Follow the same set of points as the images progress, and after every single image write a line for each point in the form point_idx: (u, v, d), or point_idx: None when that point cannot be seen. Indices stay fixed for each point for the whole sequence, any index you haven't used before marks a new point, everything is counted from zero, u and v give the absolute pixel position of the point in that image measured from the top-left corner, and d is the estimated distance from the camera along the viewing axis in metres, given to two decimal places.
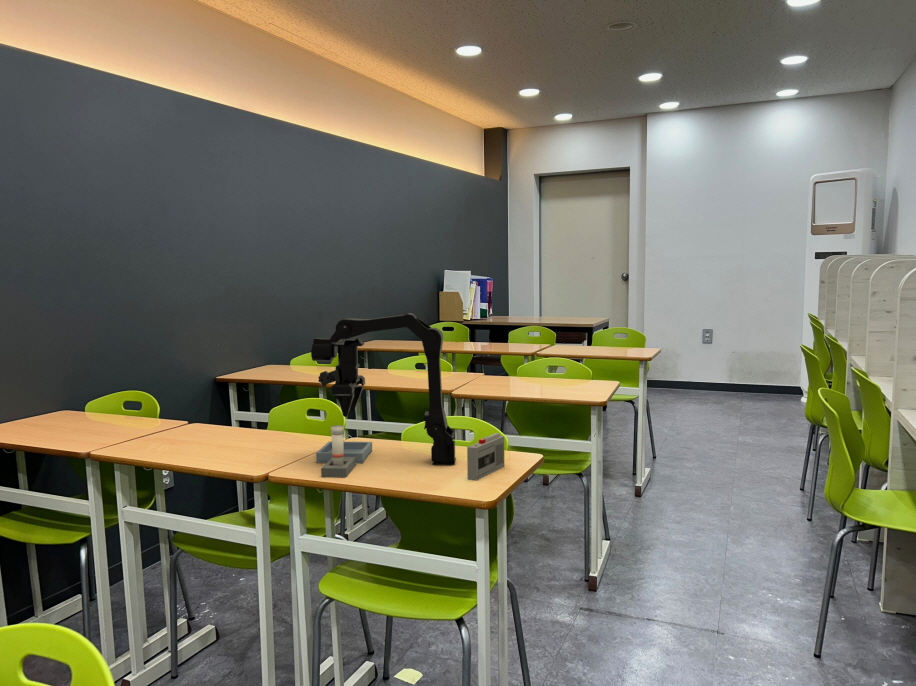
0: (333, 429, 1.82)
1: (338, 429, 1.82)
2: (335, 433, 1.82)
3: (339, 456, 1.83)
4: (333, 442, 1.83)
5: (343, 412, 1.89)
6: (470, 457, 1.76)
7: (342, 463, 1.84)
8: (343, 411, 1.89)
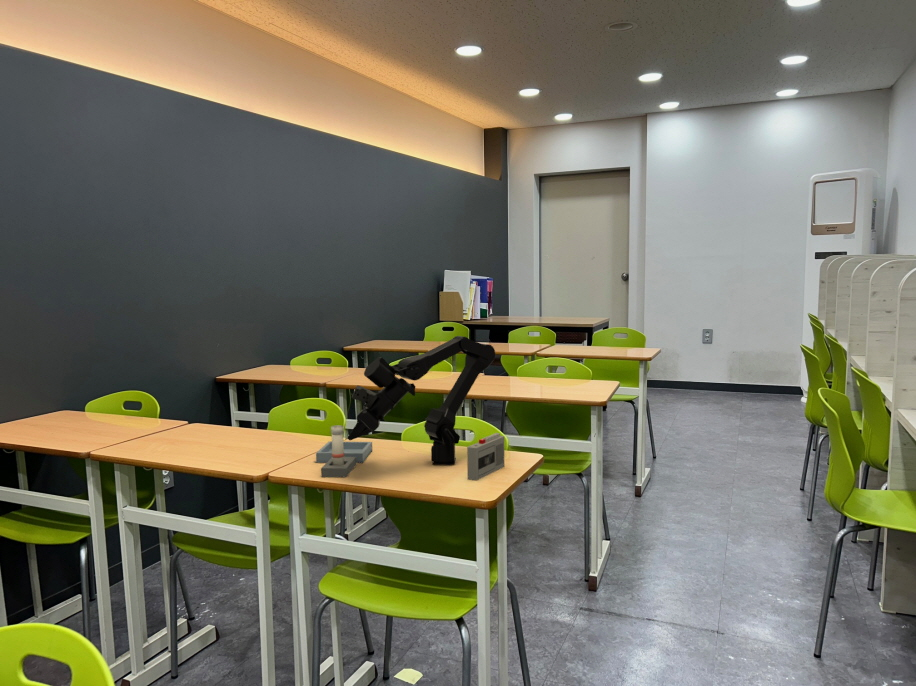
0: (333, 429, 1.82)
1: (338, 429, 1.82)
2: (335, 433, 1.82)
3: (339, 456, 1.83)
4: (333, 442, 1.83)
5: (350, 435, 1.79)
6: (470, 457, 1.76)
7: (342, 463, 1.84)
8: (351, 434, 1.79)
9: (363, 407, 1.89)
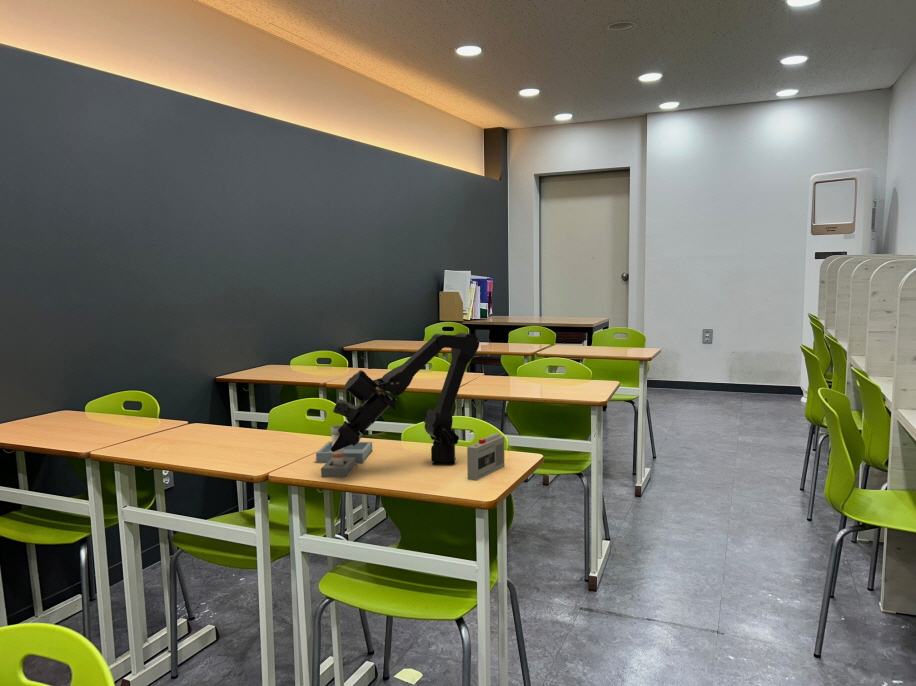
0: (333, 429, 1.82)
1: None
2: (335, 433, 1.82)
3: (339, 456, 1.83)
4: (333, 442, 1.83)
5: (333, 447, 1.82)
6: (470, 457, 1.76)
7: (342, 463, 1.84)
8: (334, 446, 1.82)
9: (344, 423, 1.86)
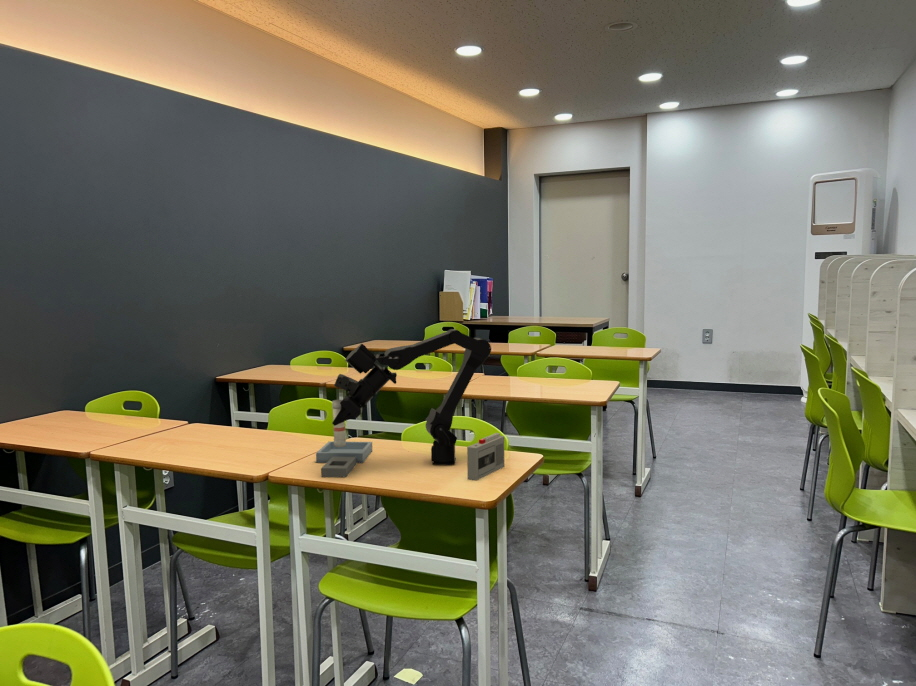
0: (334, 403, 1.85)
1: (339, 403, 1.85)
2: (336, 407, 1.85)
3: (340, 430, 1.86)
4: (334, 416, 1.86)
5: (335, 420, 1.85)
6: (470, 457, 1.76)
7: (343, 436, 1.87)
8: (336, 419, 1.85)
9: (344, 397, 1.89)
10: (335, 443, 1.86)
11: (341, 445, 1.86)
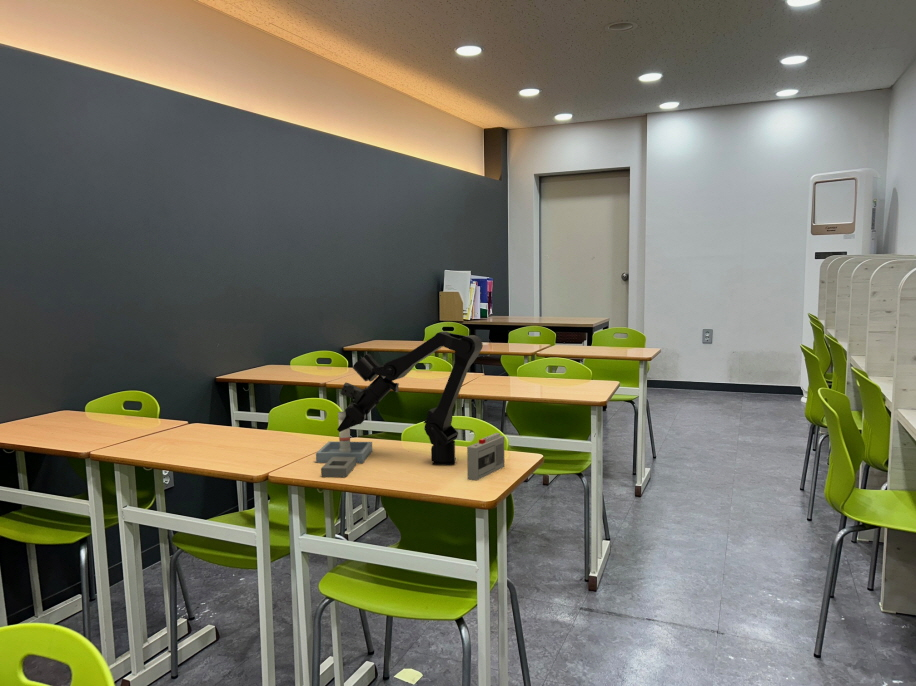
0: (340, 414, 1.98)
1: (345, 414, 1.98)
2: (342, 418, 1.98)
3: (346, 439, 1.99)
4: None
5: (340, 427, 1.97)
6: (470, 457, 1.76)
7: (348, 446, 2.00)
8: (340, 426, 1.96)
9: (351, 403, 2.04)
10: None
11: None
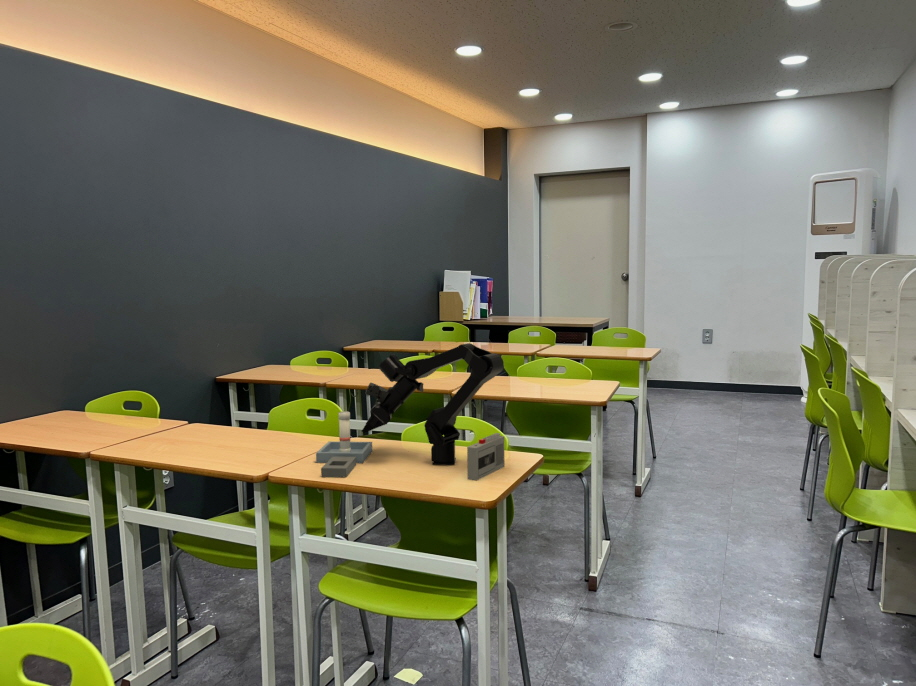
0: (340, 414, 1.98)
1: (345, 414, 1.98)
2: (342, 418, 1.98)
3: (346, 439, 1.99)
4: (340, 426, 1.99)
5: (364, 428, 1.95)
6: (470, 457, 1.76)
7: (349, 446, 2.00)
8: (365, 427, 1.95)
9: (375, 402, 2.05)
10: None
11: None
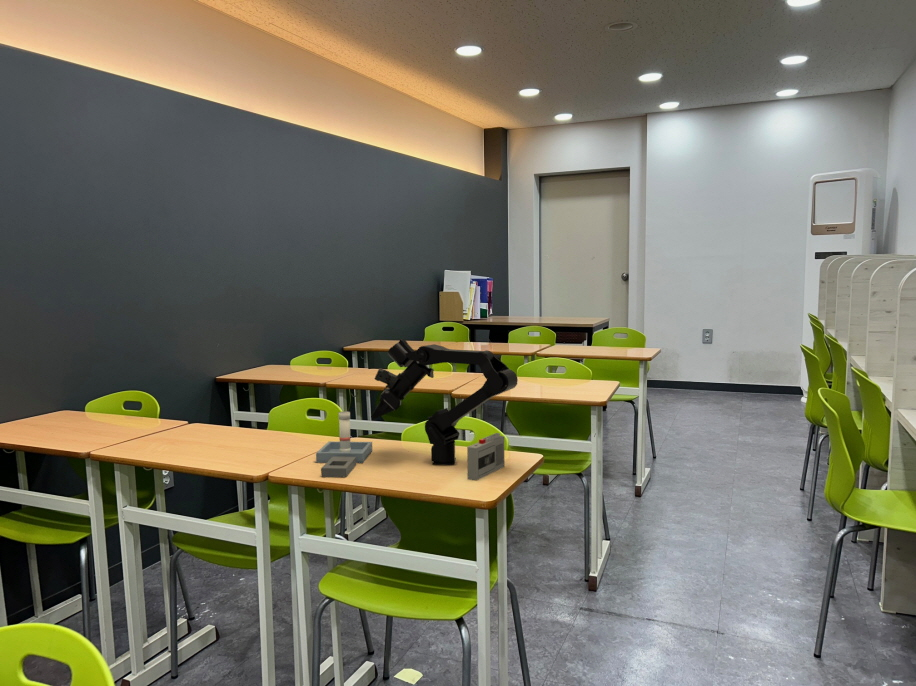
0: (341, 414, 1.98)
1: (345, 414, 1.98)
2: (342, 418, 1.98)
3: (346, 439, 1.99)
4: (340, 426, 1.99)
5: (374, 414, 1.92)
6: (470, 457, 1.76)
7: (349, 446, 2.00)
8: (374, 413, 1.92)
9: (384, 389, 2.02)
10: None
11: None
